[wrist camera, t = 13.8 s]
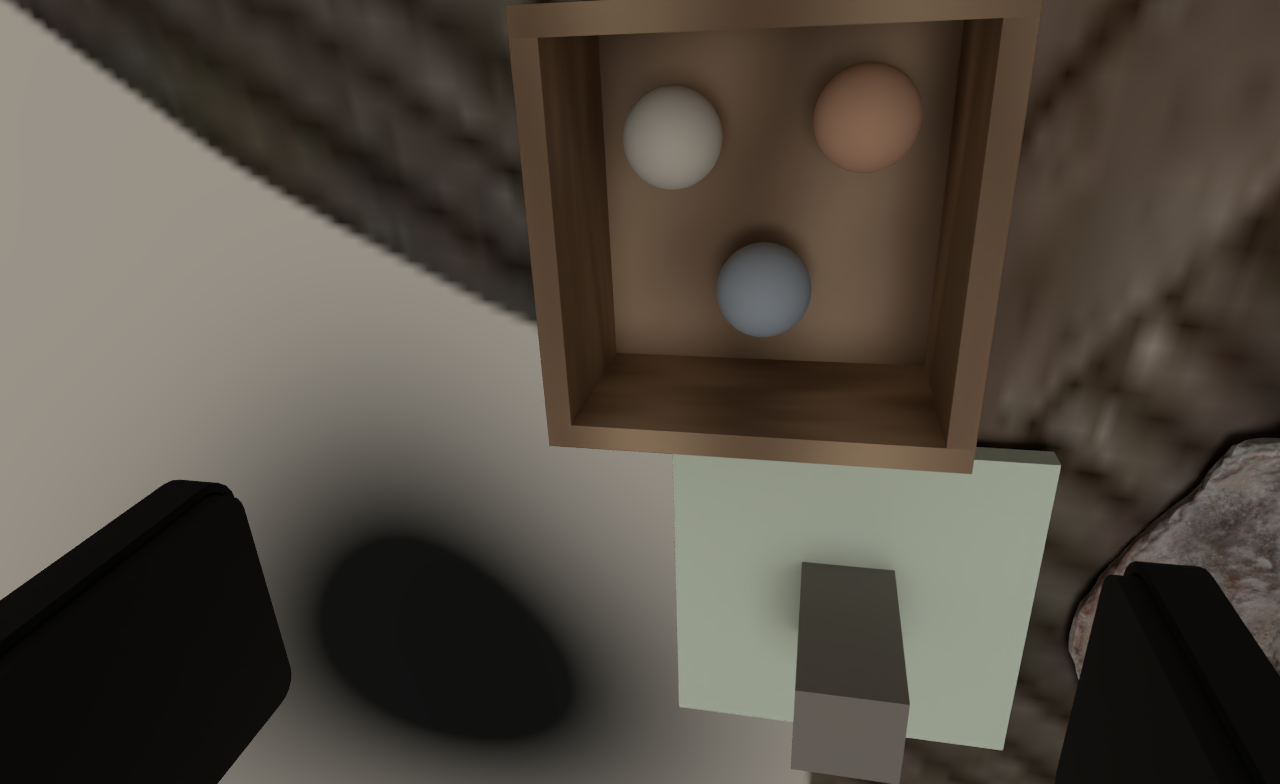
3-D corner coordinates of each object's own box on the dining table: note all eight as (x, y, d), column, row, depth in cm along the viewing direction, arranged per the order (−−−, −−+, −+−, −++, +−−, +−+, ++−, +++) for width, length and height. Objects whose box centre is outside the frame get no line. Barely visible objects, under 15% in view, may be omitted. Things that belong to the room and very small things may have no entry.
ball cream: (728, 80, 26) (715, 88, 24) (727, 179, 28) (715, 198, 25) (632, 82, 27) (609, 91, 24) (636, 180, 28) (615, 198, 26)
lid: (1054, 451, 30) (1124, 590, 23) (998, 731, 35) (1039, 911, 28) (676, 428, 32) (633, 544, 25) (682, 690, 38) (648, 844, 31)
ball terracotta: (922, 57, 25) (933, 63, 22) (912, 163, 26) (921, 181, 24) (816, 60, 26) (814, 66, 23) (811, 164, 27) (809, 181, 24)
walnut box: (991, -15, 25) (1046, -23, 18) (943, 378, 30) (971, 474, 24) (579, 6, 27) (505, 5, 21) (603, 362, 33) (549, 445, 26)
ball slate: (814, 232, 28) (812, 257, 25) (810, 320, 29) (807, 353, 26) (722, 231, 29) (710, 255, 26) (721, 317, 30) (710, 349, 27)
